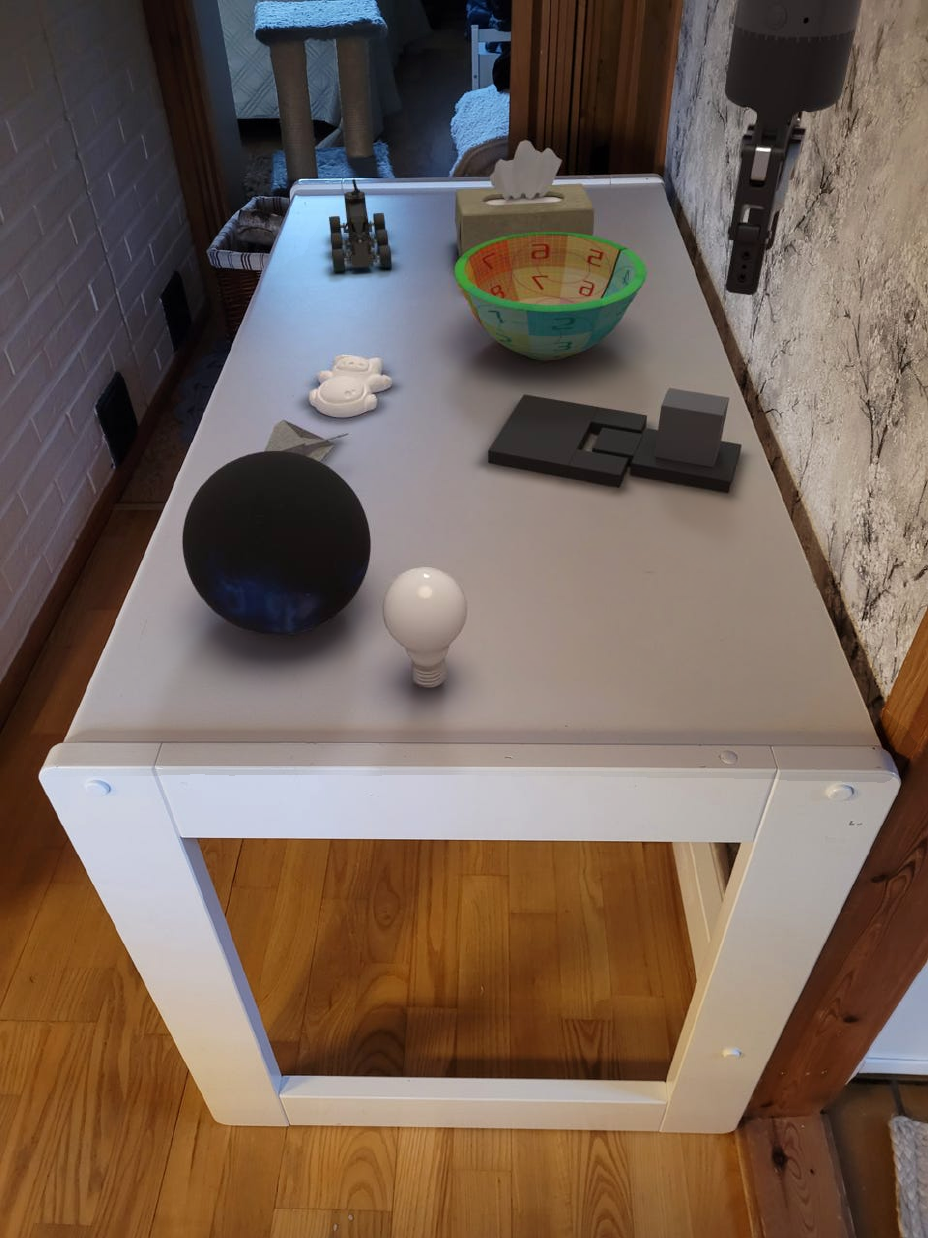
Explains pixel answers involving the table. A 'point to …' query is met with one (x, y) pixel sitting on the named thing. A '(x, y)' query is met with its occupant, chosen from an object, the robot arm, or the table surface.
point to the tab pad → (664, 467)
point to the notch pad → (562, 439)
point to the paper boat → (298, 441)
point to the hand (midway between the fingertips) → (749, 268)
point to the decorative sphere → (276, 542)
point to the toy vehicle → (359, 235)
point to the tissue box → (522, 201)
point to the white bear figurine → (349, 386)
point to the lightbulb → (425, 619)
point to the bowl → (549, 290)
